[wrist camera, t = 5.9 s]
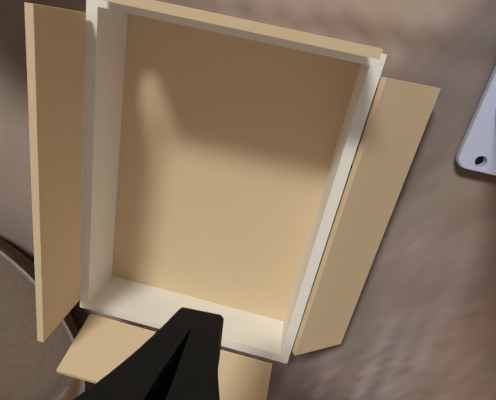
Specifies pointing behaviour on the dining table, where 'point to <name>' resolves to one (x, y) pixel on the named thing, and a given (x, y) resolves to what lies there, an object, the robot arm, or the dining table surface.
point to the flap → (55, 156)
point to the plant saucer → (30, 338)
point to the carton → (236, 176)
